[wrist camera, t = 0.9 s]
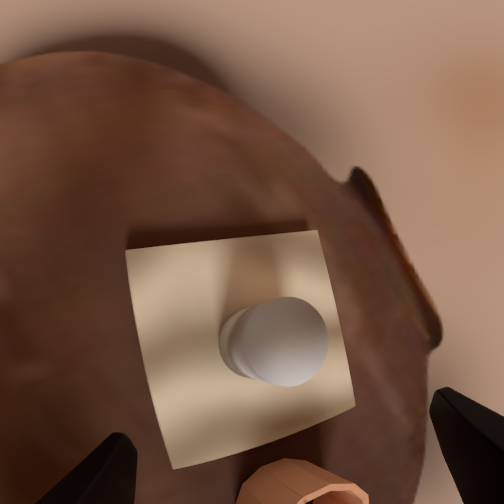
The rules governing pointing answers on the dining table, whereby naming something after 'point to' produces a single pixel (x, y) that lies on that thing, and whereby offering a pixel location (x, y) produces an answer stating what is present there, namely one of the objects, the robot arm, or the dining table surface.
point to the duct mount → (238, 341)
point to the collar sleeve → (298, 485)
